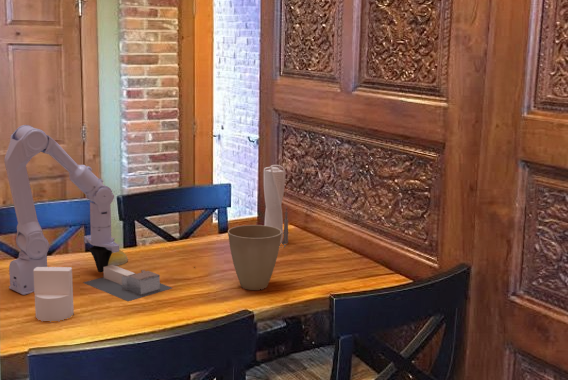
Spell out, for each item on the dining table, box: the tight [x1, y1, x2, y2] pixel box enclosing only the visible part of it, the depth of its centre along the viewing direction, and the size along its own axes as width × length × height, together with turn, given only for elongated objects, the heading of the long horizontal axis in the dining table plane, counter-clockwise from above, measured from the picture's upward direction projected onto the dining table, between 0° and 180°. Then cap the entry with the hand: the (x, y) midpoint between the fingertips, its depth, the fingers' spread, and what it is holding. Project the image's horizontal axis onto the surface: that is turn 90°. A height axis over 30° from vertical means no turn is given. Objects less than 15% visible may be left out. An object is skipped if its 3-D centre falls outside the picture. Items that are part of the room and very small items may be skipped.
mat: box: [82, 276, 173, 302], centre depth 208 cm, size 15×21×1 cm
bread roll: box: [108, 249, 129, 267], centre depth 228 cm, size 8×9×4 cm
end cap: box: [122, 269, 161, 296], centre depth 204 cm, size 8×8×4 cm
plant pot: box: [227, 224, 282, 291], centre depth 209 cm, size 15×15×16 cm
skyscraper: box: [263, 164, 289, 248], centre depth 250 cm, size 8×8×28 cm
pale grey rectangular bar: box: [103, 265, 137, 285], centre depth 211 cm, size 11×3×3 cm, turn 48°
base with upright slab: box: [33, 266, 75, 323], centre depth 185 cm, size 9×9×12 cm
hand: (102, 271), depth 216 cm, fingers closed
